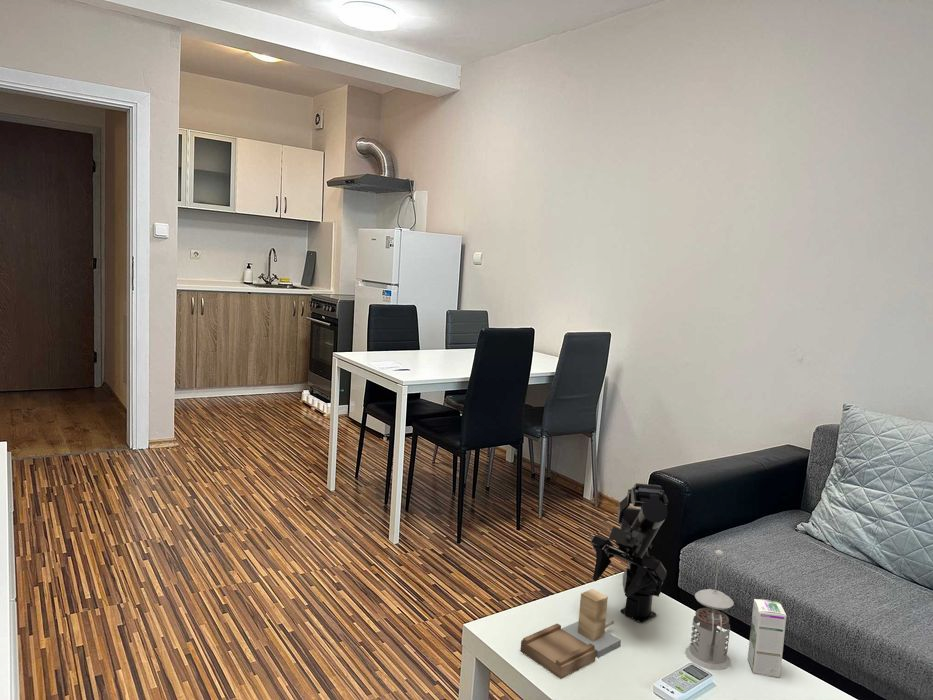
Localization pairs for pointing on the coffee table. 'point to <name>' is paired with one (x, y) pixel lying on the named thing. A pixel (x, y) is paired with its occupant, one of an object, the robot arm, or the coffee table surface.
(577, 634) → the grey rubber pad
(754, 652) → the syrup box
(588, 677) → the coffee table surface
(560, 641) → the walnut shelf lane
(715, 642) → the french press
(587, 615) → the oak mallet
